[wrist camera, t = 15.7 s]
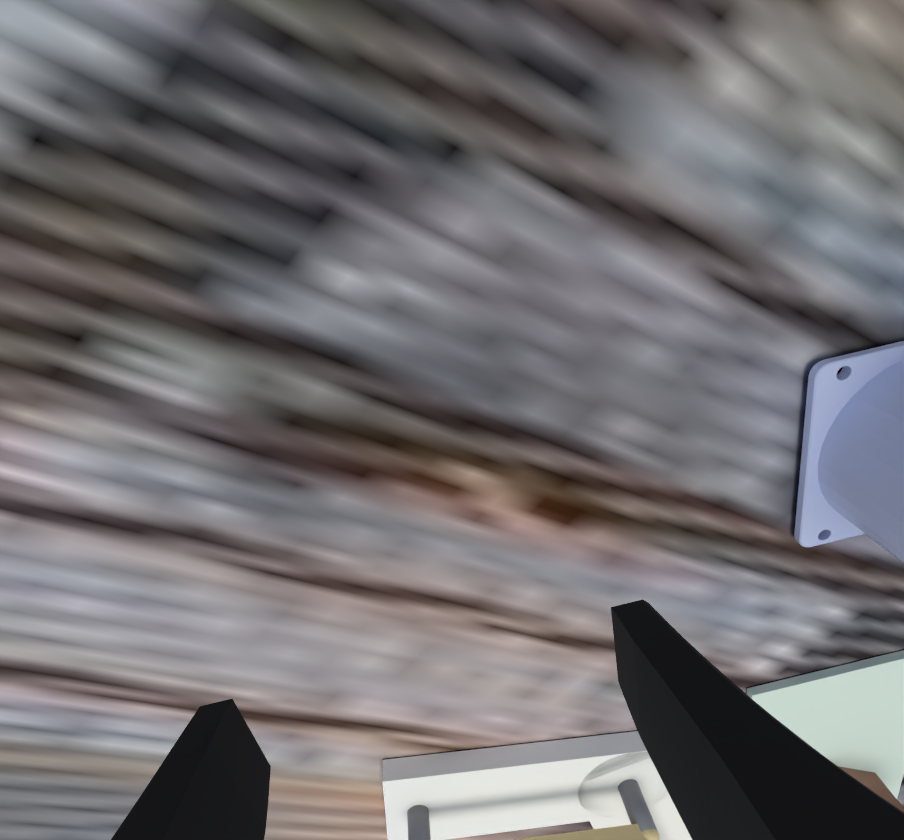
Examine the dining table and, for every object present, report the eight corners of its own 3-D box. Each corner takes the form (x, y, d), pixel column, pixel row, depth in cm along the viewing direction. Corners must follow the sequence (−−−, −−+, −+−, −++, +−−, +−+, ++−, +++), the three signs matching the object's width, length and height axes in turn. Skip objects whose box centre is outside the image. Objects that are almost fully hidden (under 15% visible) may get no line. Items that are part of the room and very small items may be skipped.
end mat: (928, 644, 26) (935, 650, 26) (875, 856, 34) (880, 863, 34) (746, 688, 26) (752, 695, 26) (736, 890, 34) (740, 898, 34)
